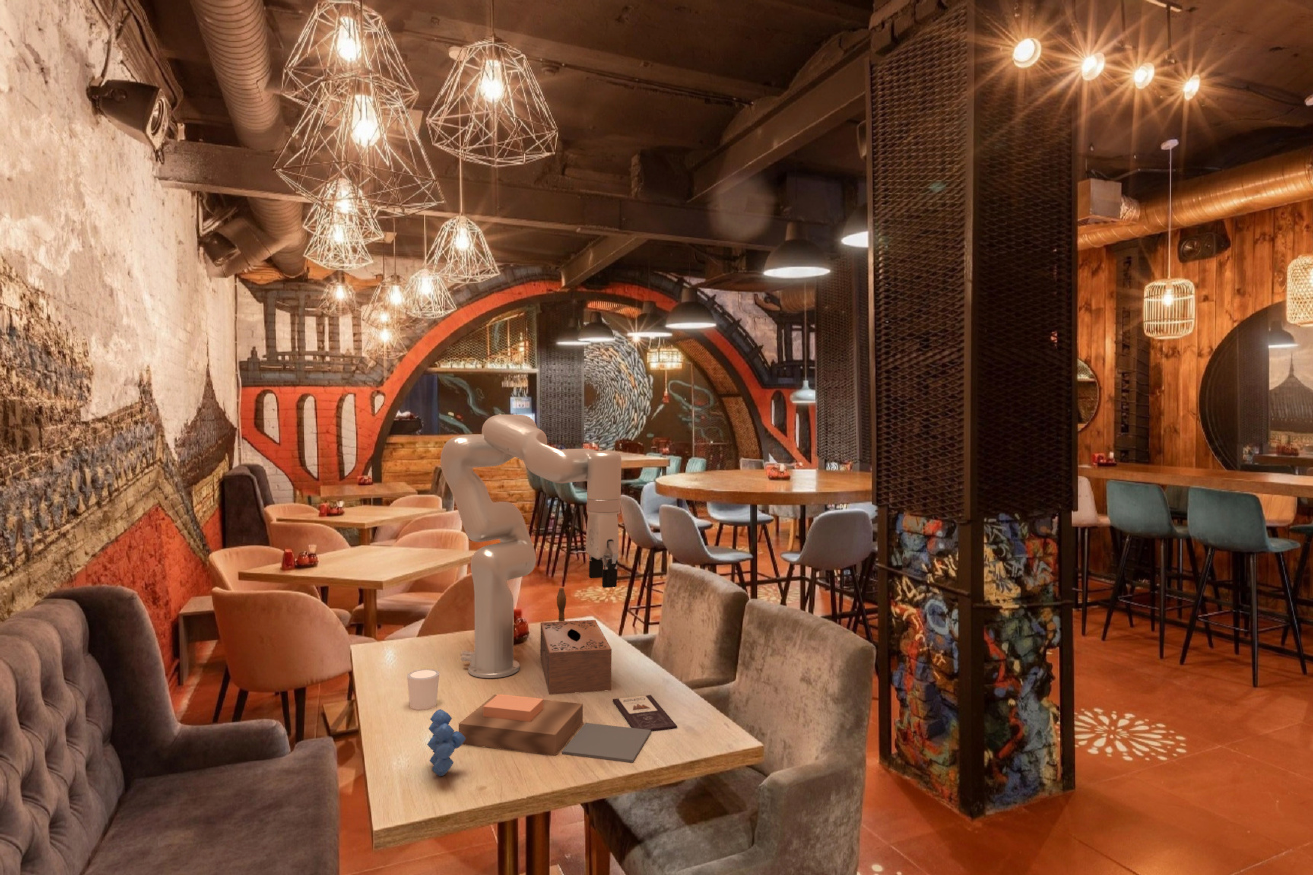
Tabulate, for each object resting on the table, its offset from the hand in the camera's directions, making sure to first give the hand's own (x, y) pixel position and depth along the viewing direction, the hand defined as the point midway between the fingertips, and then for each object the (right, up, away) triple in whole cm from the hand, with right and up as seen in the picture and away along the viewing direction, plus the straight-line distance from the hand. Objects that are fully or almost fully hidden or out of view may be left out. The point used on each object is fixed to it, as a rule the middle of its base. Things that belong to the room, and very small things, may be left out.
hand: (602, 582), depth 173 cm
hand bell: (-14, -26, +41) cm, 51 cm away
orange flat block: (-17, -23, -17) cm, 33 cm away
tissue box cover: (-8, -27, +18) cm, 33 cm away
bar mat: (+3, -28, -21) cm, 35 cm away
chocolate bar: (+9, -28, -7) cm, 30 cm away
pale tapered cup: (-39, -27, -3) cm, 48 cm away
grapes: (-25, -28, -35) cm, 52 cm away
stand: (-15, -27, -17) cm, 36 cm away
